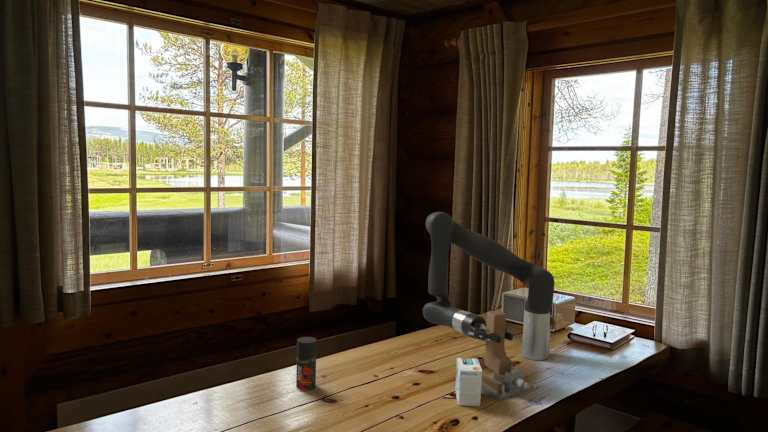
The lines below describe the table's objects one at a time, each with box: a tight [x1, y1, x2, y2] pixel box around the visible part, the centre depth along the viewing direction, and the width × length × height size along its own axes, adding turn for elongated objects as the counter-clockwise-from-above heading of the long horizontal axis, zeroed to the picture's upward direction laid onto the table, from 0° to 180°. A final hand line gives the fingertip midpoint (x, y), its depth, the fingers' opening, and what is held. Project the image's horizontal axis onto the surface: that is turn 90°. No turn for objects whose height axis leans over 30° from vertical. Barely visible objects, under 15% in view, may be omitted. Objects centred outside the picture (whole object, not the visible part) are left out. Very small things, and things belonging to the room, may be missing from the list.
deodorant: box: [295, 336, 318, 392], centre depth 170 cm, size 6×6×15 cm
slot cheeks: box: [481, 371, 525, 393], centre depth 176 cm, size 12×11×2 cm
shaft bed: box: [481, 368, 535, 401], centre depth 175 cm, size 16×16×7 cm
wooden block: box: [483, 310, 513, 375], centre depth 175 cm, size 9×4×18 cm, turn 21°
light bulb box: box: [454, 357, 483, 407], centre depth 166 cm, size 11×7×11 cm, turn 178°
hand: (506, 338), depth 173 cm, fingers closed on wooden block, 4 cm apart
